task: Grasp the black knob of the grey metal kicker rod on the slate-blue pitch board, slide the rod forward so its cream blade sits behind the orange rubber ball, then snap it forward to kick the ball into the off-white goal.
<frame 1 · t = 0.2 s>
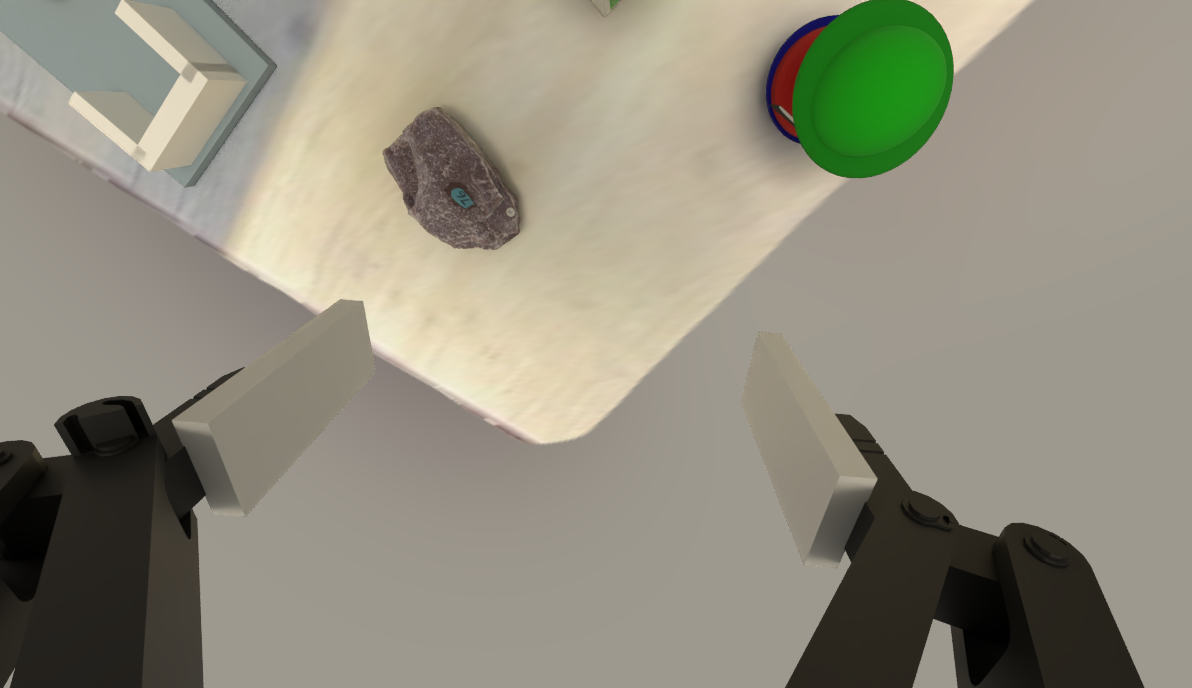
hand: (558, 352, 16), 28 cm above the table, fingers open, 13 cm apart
goal: (182, 83, 38), resting on pitch
rock: (461, 183, 41), on the table
toy: (799, 93, 36), on the table
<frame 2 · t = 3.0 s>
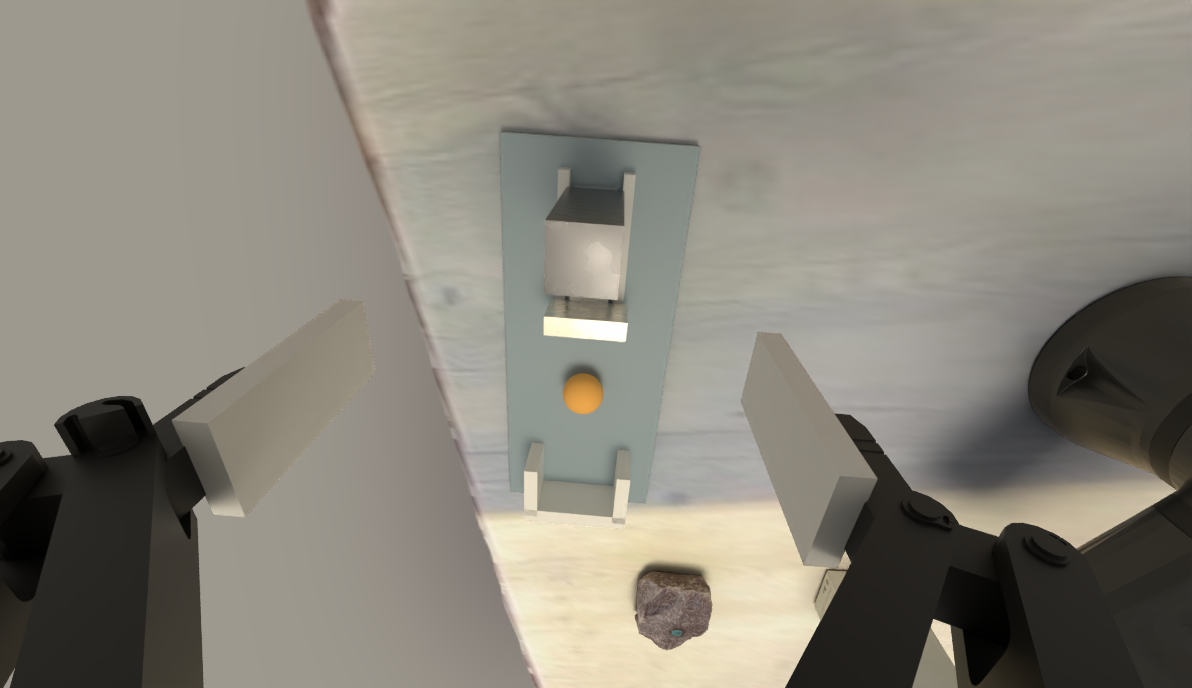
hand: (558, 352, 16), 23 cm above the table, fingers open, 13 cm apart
pitch: (587, 348, 42), on the table
ball: (583, 393, 41), point 3 cm above the table, touching pitch
skincare box: (855, 585, 54), on the table
goal: (580, 457, 47), resting on pitch
rock: (667, 590, 57), on the table
kicker rod: (587, 278, 31), point 7 cm above the table, slide at 0.0 cm
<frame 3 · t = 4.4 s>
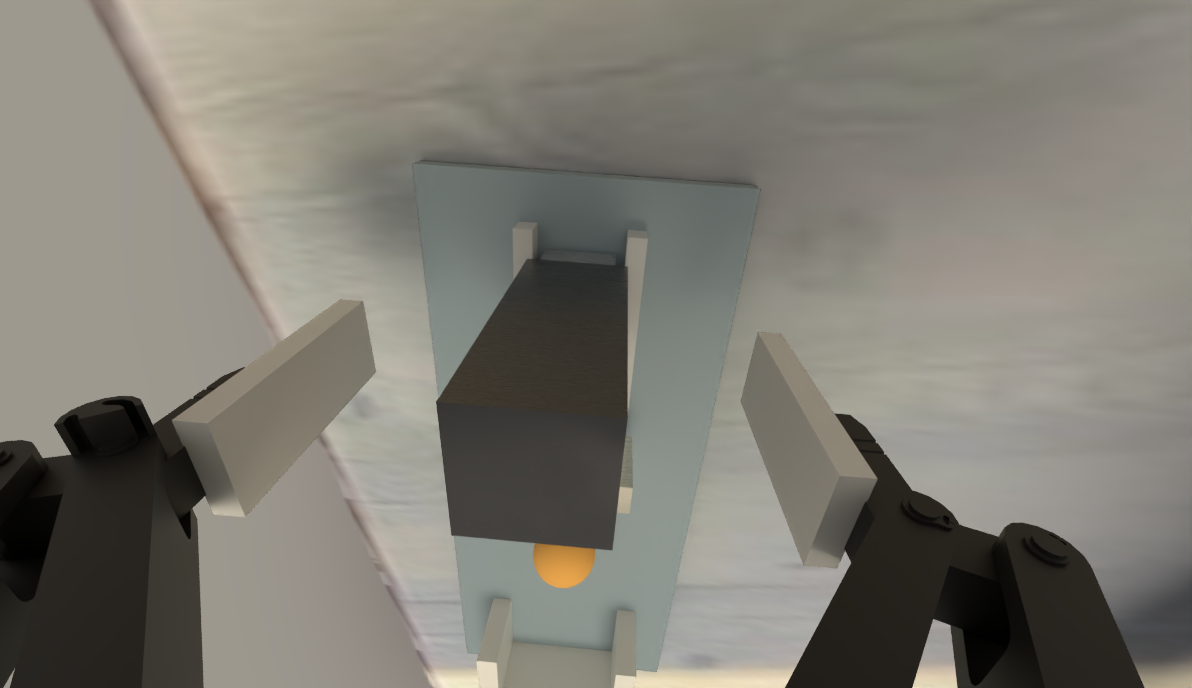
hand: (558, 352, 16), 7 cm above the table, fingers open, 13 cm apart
pitch: (571, 478, 28), on the table
ball: (564, 553, 27), point 3 cm above the table, touching pitch
goal: (564, 611, 33), resting on pitch
kicker rod: (560, 430, 17), point 7 cm above the table, slide at 0.0 cm
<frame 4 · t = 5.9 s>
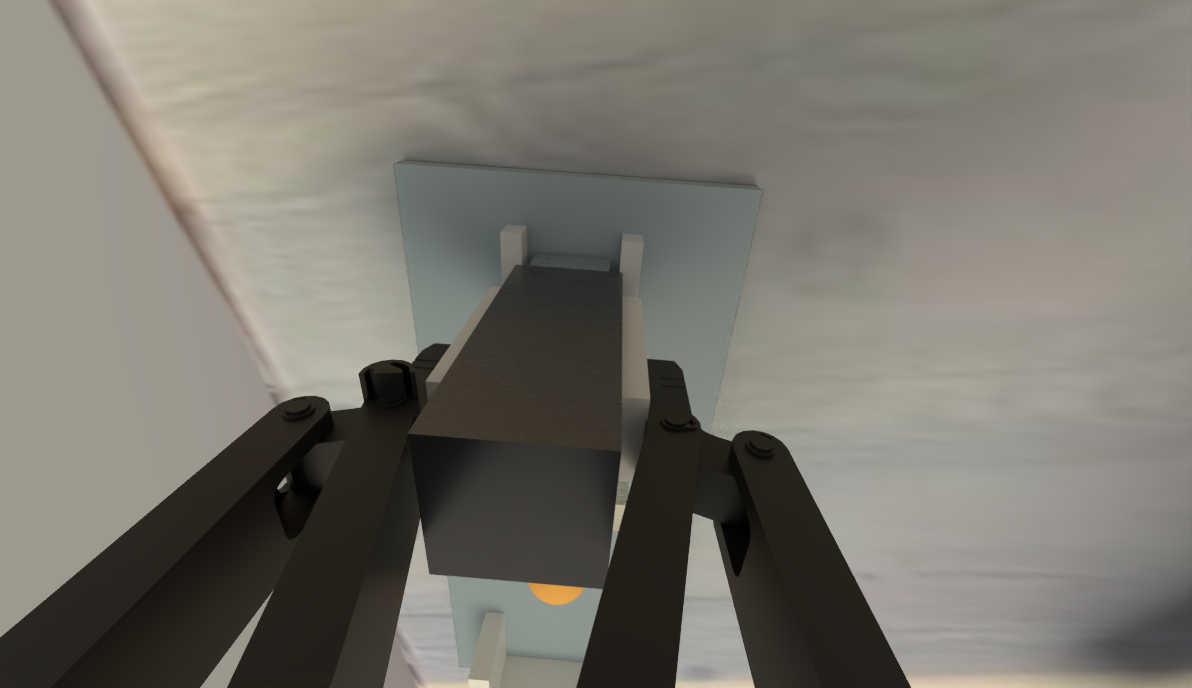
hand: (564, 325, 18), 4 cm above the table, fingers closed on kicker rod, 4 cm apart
pitch: (565, 489, 27), on the table
ball: (558, 568, 26), point 3 cm above the table, touching pitch
goal: (559, 623, 32), resting on pitch
kicker rod: (551, 447, 16), point 7 cm above the table, slide at 0.0 cm, touching gripper
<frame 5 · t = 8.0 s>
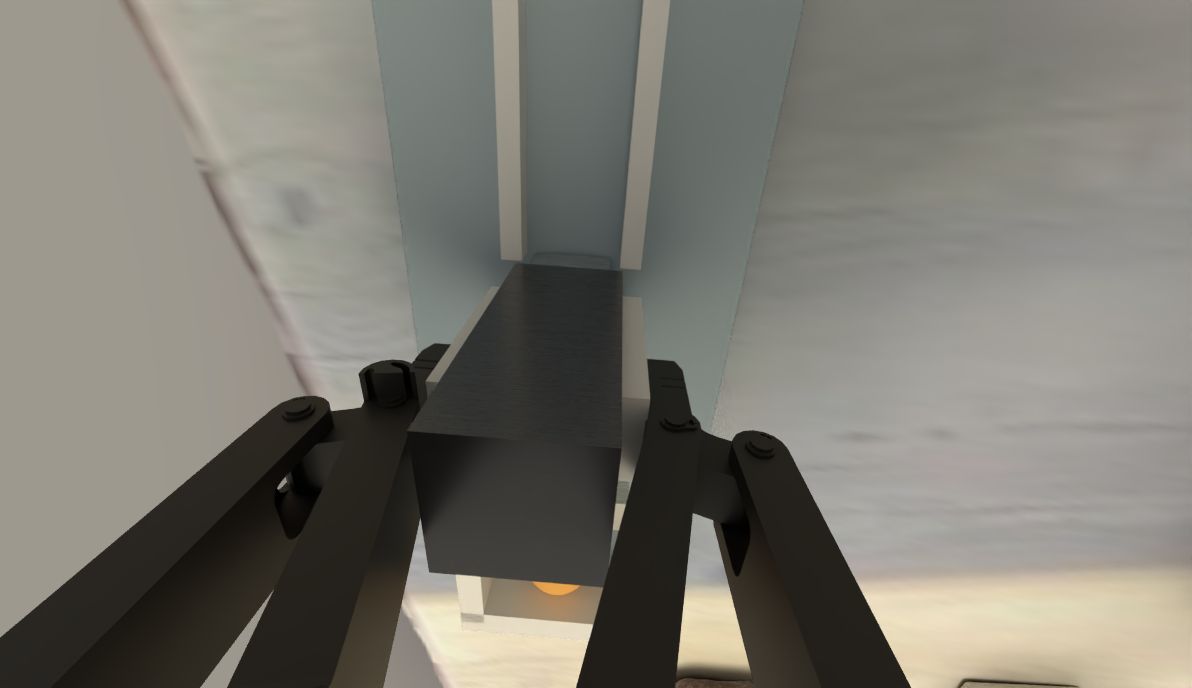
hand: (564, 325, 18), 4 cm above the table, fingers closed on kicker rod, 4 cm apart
pitch: (573, 312, 21), on the table
ball: (558, 558, 25), point 3 cm above the table, tilted 35°, touching pitch
goal: (564, 509, 27), resting on pitch
kicker rod: (551, 446, 16), point 7 cm above the table, slide at 10.9 cm, touching gripper
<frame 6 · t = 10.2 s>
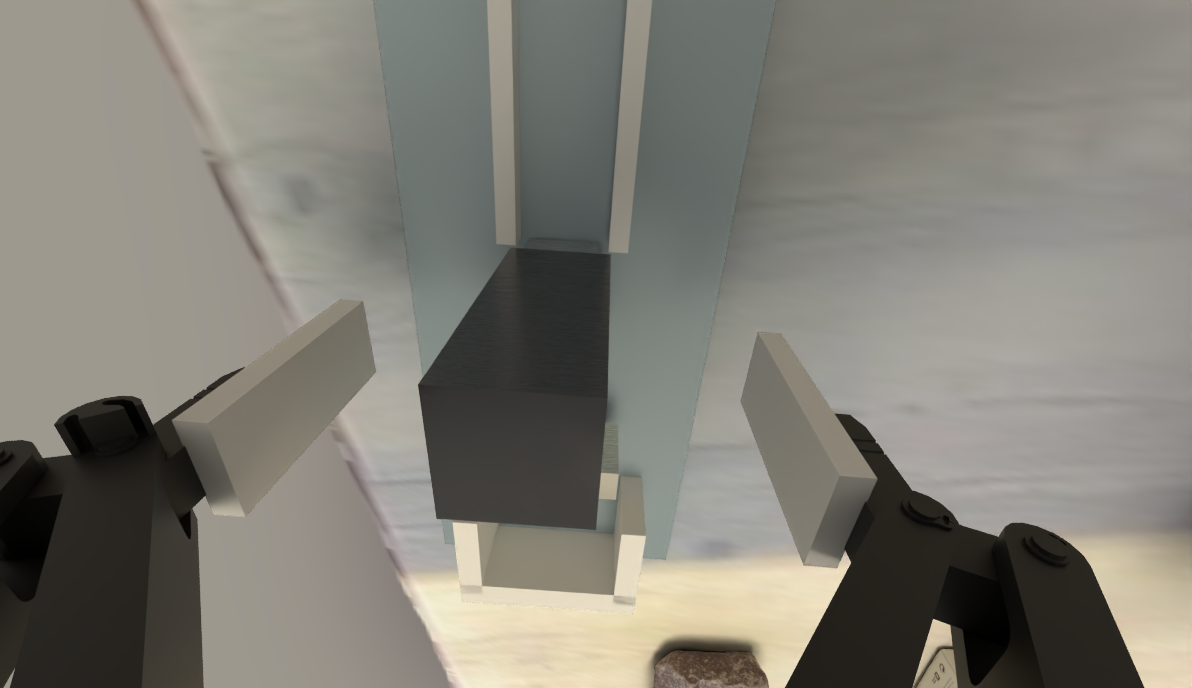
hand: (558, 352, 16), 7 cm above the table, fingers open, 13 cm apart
pitch: (565, 296, 23), on the table
skincare box: (977, 667, 36), on the table
goal: (558, 487, 29), resting on pitch
rock: (700, 671, 38), on the table
kicker rod: (545, 417, 17), point 7 cm above the table, slide at 10.9 cm
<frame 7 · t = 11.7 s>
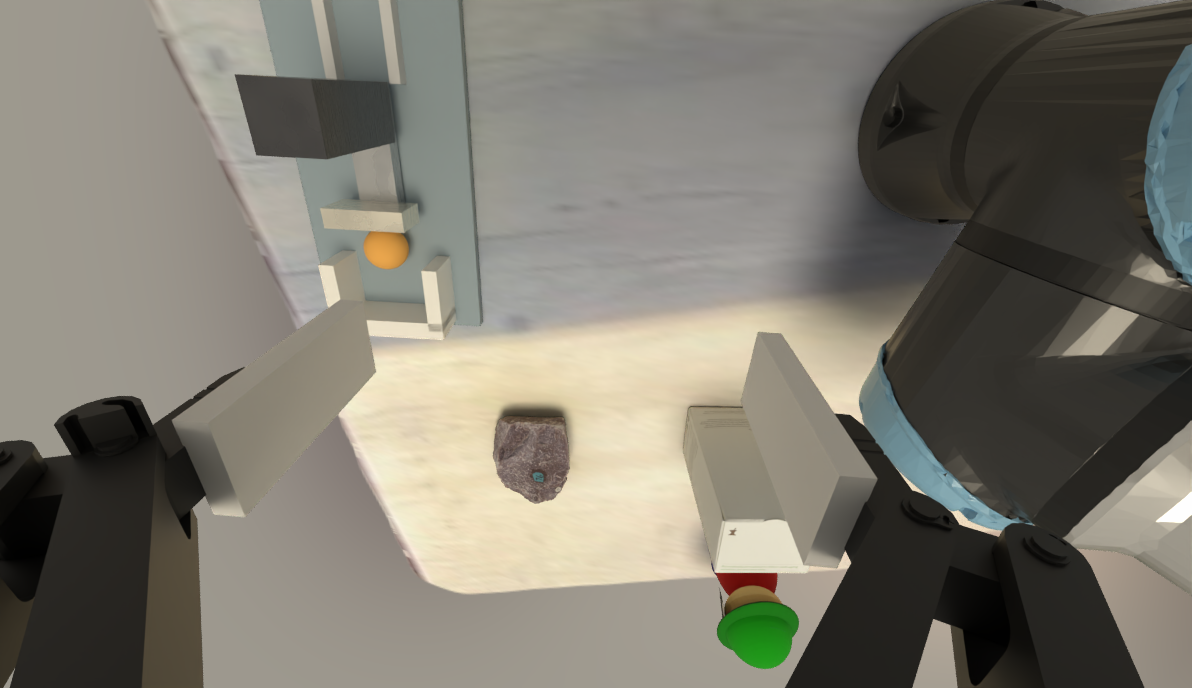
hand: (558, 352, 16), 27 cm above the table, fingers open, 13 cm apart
pitch: (382, 125, 38), on the table
ball: (386, 248, 40), point 3 cm above the table, tilted 161°, touching pitch
skincare box: (722, 426, 52), on the table
goal: (404, 273, 44), resting on pitch
rock: (535, 441, 53), on the table
toy: (731, 535, 60), on the table
kicker rod: (344, 162, 32), point 7 cm above the table, slide at 10.9 cm
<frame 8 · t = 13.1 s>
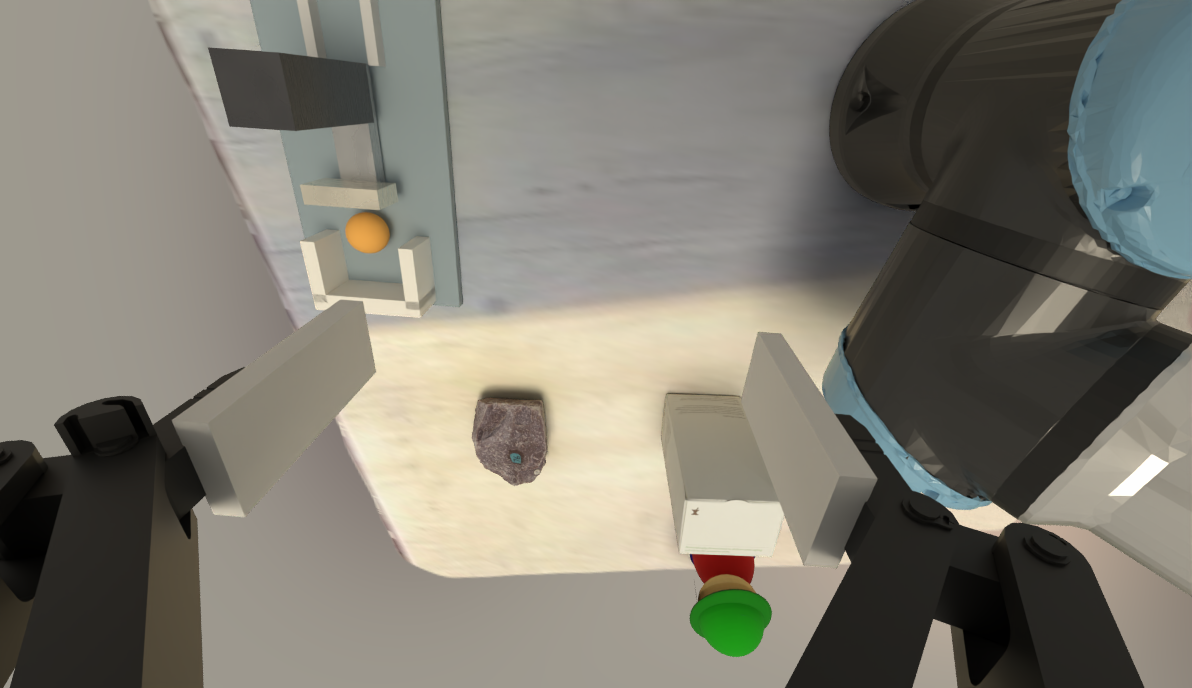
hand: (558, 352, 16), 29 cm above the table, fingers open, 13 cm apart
pitch: (364, 107, 39), on the table
ball: (367, 233, 41), point 3 cm above the table, tilted 144°, touching pitch
skincare box: (700, 414, 52), on the table
goal: (386, 253, 45), resting on pitch
rock: (515, 424, 54), on the table
toy: (712, 526, 60), on the table
kicker rod: (320, 139, 34), point 7 cm above the table, slide at 10.9 cm
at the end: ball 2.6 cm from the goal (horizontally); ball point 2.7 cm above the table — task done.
